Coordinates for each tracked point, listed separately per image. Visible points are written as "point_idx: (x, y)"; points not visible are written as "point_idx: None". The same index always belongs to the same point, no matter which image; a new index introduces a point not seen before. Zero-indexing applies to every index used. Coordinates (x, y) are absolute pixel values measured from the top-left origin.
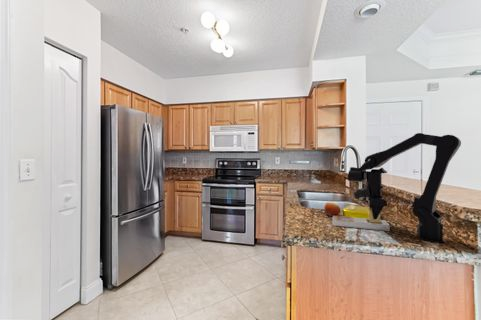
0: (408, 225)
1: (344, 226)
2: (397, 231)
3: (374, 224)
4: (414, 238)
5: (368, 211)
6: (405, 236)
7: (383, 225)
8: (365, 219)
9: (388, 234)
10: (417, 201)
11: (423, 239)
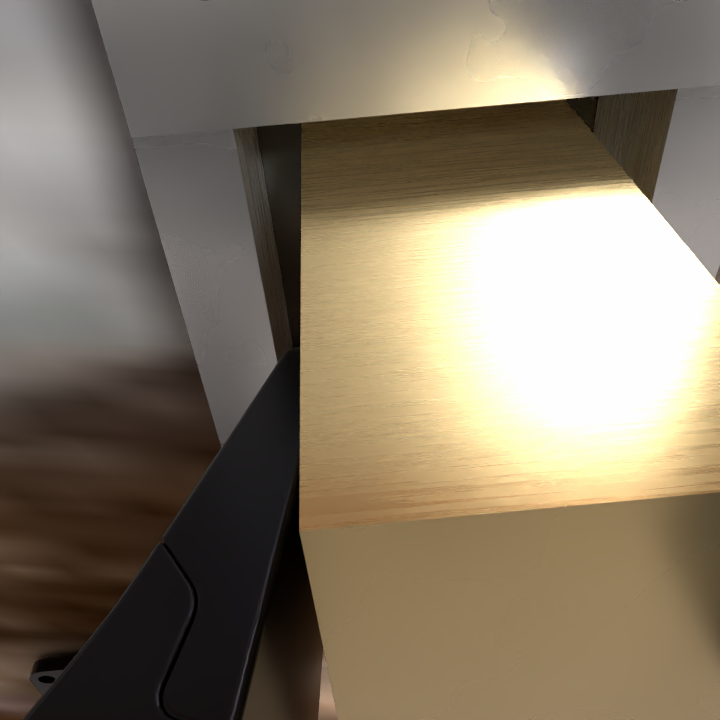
0: None
1: None
2: None
3: (179, 278)
4: (67, 610)
5: (645, 361)
6: (86, 556)
7: (225, 431)
8: (648, 69)
9: (13, 401)
10: None
11: (34, 668)
